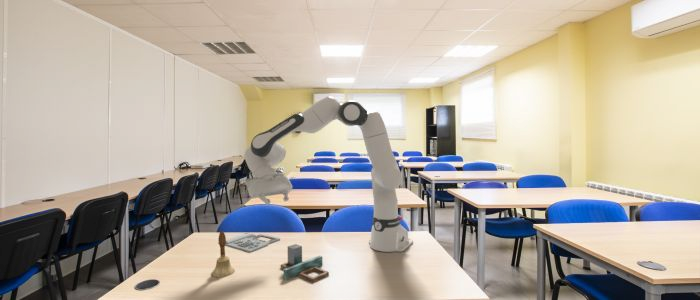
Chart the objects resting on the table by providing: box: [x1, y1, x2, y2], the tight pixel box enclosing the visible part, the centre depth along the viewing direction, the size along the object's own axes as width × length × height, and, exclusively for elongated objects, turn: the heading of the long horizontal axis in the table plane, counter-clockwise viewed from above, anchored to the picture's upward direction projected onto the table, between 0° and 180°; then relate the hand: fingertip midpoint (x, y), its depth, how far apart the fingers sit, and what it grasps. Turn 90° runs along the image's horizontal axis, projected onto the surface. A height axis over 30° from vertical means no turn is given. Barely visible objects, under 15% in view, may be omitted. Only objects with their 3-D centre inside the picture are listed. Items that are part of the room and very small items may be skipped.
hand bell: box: [211, 230, 236, 278], centre depth 123 cm, size 8×8×16 cm
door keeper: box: [280, 255, 330, 283], centre depth 124 cm, size 18×19×4 cm
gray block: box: [287, 243, 303, 267], centre depth 128 cm, size 4×4×8 cm
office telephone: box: [225, 231, 281, 253], centre depth 159 cm, size 23×3×20 cm
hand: (277, 202), depth 137 cm, fingers open, 8 cm apart
